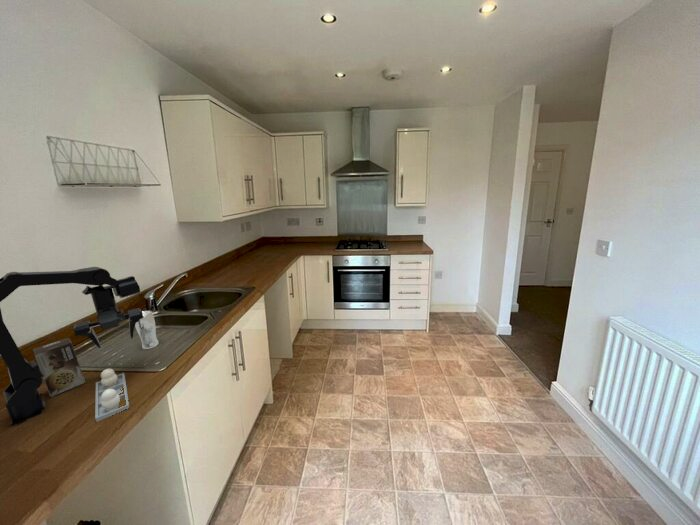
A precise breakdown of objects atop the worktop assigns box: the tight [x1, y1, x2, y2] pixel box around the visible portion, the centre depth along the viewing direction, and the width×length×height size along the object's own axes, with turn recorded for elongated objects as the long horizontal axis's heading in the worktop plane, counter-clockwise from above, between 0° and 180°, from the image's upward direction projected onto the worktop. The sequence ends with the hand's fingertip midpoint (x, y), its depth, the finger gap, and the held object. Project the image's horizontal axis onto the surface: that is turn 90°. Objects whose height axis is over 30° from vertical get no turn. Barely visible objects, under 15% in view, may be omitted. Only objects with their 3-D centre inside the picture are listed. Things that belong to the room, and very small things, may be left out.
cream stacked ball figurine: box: [100, 368, 118, 389], centre depth 99 cm, size 4×4×6 cm
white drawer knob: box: [101, 389, 120, 412], centre depth 88 cm, size 4×4×6 cm
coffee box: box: [32, 337, 86, 398], centre depth 99 cm, size 9×6×16 cm
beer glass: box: [134, 310, 160, 350], centre depth 124 cm, size 7×7×15 cm
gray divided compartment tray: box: [94, 372, 130, 423], centre depth 94 cm, size 8×22×2 cm, turn 40°
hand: (116, 342), depth 105 cm, fingers open, 9 cm apart
